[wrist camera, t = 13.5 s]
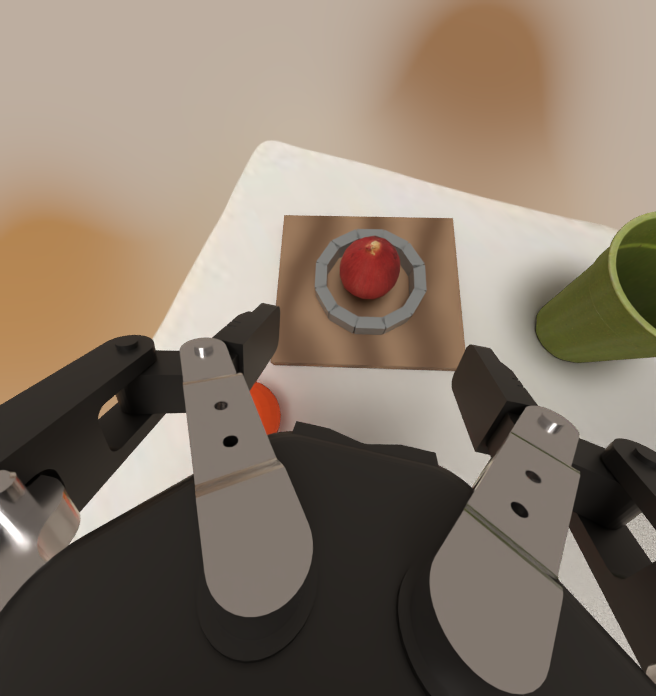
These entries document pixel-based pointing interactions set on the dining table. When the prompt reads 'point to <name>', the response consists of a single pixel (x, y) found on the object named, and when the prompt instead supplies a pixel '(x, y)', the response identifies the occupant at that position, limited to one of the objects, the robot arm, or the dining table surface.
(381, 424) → the dining table surface
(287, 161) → the dining table surface
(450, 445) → the dining table surface
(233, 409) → the robot arm
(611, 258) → the plant pot
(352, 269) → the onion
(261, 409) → the clementine
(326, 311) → the ring
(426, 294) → the board
